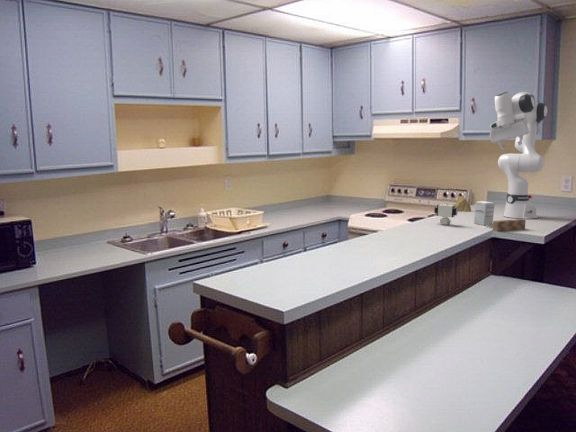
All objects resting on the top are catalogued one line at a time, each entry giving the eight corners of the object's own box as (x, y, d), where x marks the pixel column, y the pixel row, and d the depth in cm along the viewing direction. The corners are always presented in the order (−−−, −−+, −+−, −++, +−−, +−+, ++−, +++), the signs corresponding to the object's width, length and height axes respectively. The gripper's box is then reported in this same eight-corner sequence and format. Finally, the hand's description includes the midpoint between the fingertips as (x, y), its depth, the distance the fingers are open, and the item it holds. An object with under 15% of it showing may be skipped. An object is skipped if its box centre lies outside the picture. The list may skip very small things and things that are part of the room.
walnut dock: (507, 225, 287) (508, 216, 286) (524, 229, 276) (525, 219, 276) (480, 227, 279) (480, 218, 278) (496, 231, 268) (497, 221, 268)
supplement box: (473, 223, 292) (475, 201, 290) (482, 222, 295) (484, 200, 293) (483, 225, 285) (485, 203, 283) (493, 224, 289) (495, 202, 287)
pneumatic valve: (454, 226, 281) (456, 204, 280) (433, 223, 287) (434, 202, 285) (457, 224, 286) (458, 203, 284) (436, 222, 292) (437, 201, 290)
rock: (475, 207, 340) (462, 204, 347) (473, 198, 335) (459, 194, 342) (466, 218, 336) (453, 214, 343) (463, 209, 331) (450, 205, 338)
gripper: (528, 116, 275) (533, 142, 275) (491, 126, 290) (496, 150, 290) (523, 116, 271) (528, 142, 271) (486, 126, 285) (491, 151, 285)
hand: (511, 146), depth 280 cm, fingers open, 8 cm apart
